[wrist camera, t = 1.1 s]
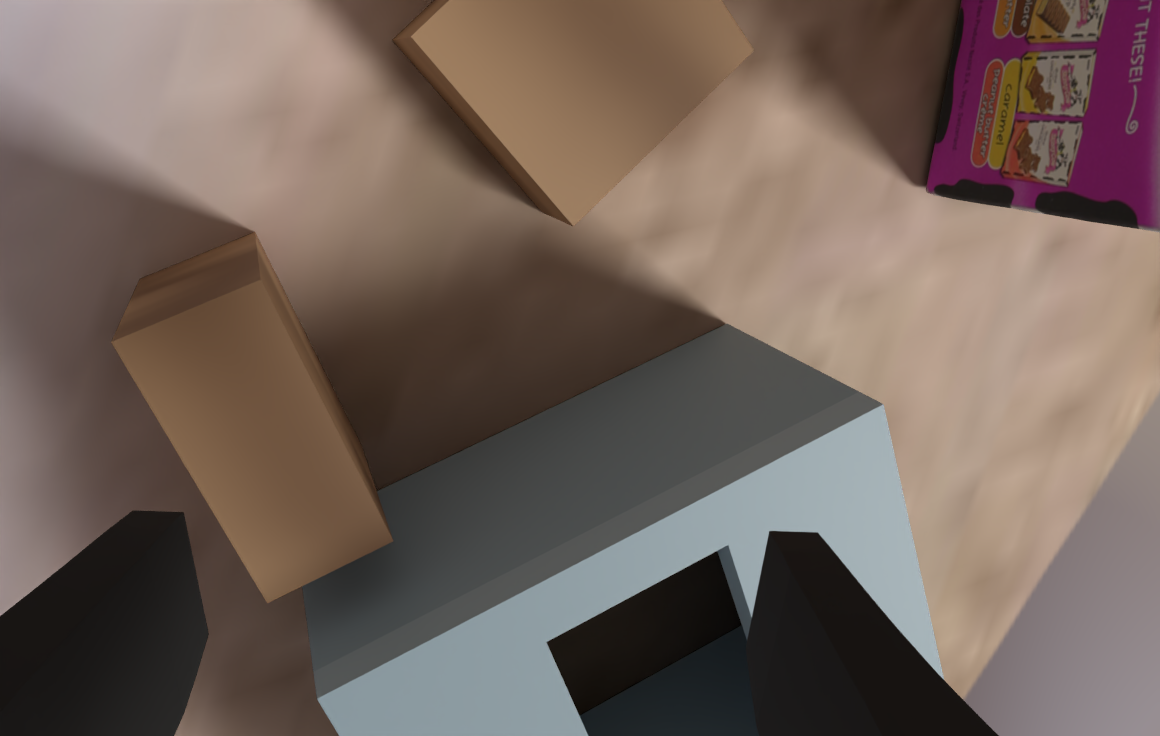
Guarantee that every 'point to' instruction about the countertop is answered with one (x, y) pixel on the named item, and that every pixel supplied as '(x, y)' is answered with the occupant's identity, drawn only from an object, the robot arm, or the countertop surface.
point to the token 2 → (573, 82)
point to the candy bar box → (1054, 110)
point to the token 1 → (252, 415)
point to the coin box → (610, 548)
